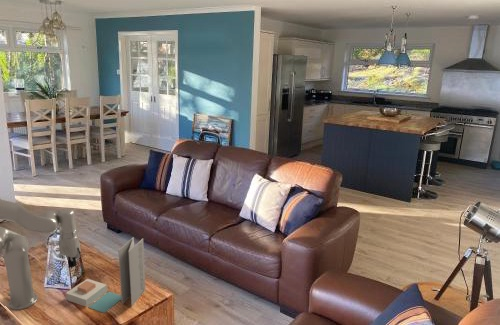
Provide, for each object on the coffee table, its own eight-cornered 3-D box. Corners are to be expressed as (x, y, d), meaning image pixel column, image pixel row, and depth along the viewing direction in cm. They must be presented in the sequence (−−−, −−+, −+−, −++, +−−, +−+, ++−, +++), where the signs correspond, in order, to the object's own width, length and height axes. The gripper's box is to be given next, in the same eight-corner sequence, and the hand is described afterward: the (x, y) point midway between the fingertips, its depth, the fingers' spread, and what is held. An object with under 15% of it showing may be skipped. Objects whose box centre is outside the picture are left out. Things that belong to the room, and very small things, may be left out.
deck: (66, 300, 188) (65, 293, 187) (88, 285, 200) (87, 278, 199) (86, 307, 183) (85, 299, 182) (107, 291, 196) (106, 284, 195)
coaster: (77, 290, 189) (77, 287, 189) (86, 284, 195) (86, 280, 194) (86, 293, 187) (86, 290, 187) (95, 287, 192) (95, 283, 192)
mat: (88, 307, 183) (88, 307, 183) (108, 291, 195) (108, 291, 195) (104, 313, 179) (104, 312, 179) (124, 297, 192) (124, 296, 192)
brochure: (132, 306, 185) (128, 251, 177) (121, 304, 186) (118, 250, 178) (145, 289, 198) (143, 238, 190) (135, 288, 199) (133, 236, 191)
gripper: (51, 234, 186) (55, 266, 191) (73, 239, 180) (78, 273, 185) (63, 227, 192) (67, 259, 198) (85, 233, 187) (89, 265, 192)
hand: (72, 266), depth 191 cm, fingers closed
